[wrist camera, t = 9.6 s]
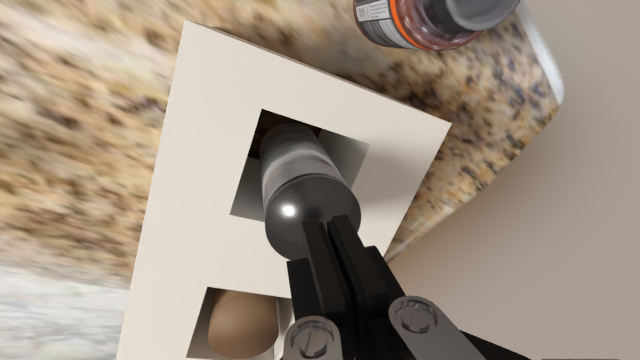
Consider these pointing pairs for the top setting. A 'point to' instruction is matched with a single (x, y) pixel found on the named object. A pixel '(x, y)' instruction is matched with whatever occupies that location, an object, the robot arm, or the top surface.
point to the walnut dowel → (242, 323)
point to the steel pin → (300, 187)
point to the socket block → (253, 185)
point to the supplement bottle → (428, 21)
